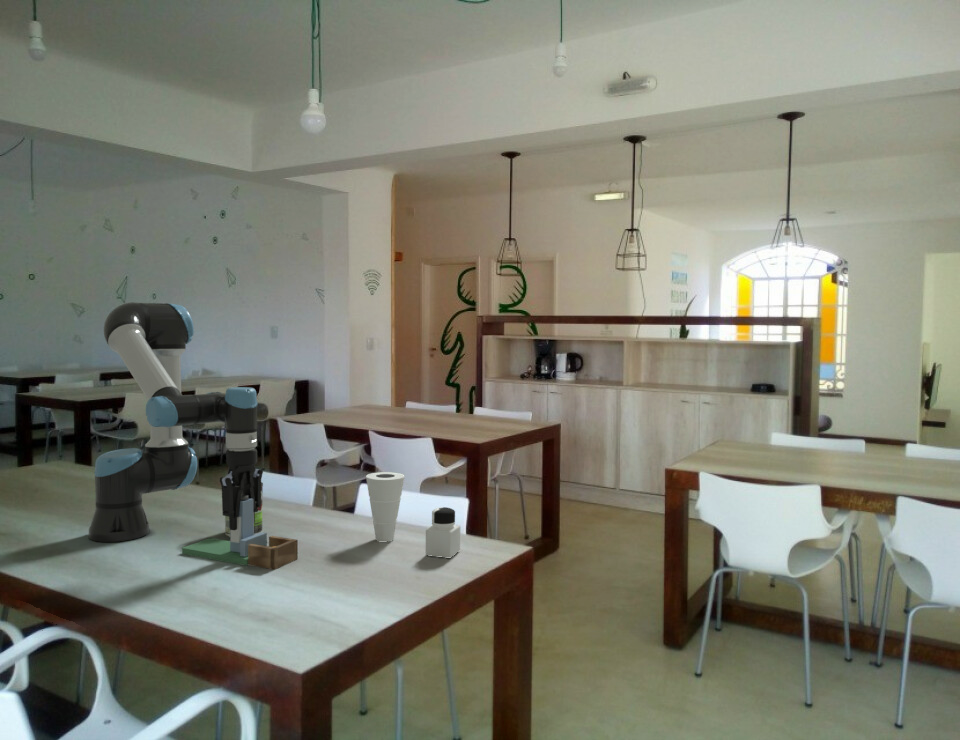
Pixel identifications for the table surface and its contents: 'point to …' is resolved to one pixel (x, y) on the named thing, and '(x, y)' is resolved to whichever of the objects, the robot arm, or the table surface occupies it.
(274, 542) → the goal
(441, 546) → the medicine bottle
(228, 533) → the coffee can
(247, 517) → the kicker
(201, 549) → the plate
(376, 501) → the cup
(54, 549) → the table surface
